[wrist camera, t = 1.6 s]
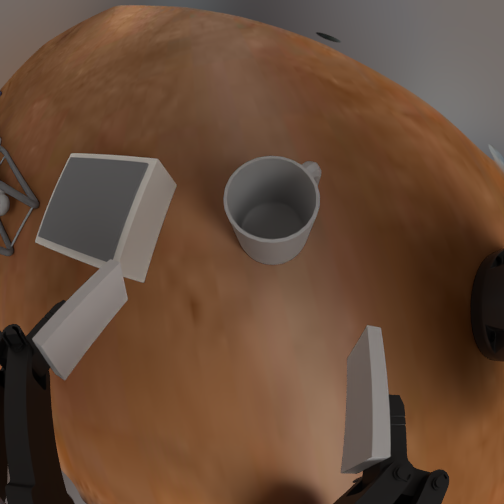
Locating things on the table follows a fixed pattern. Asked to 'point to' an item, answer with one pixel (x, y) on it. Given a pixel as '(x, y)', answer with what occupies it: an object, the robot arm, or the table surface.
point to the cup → (273, 206)
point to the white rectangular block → (108, 211)
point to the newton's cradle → (2, 202)
